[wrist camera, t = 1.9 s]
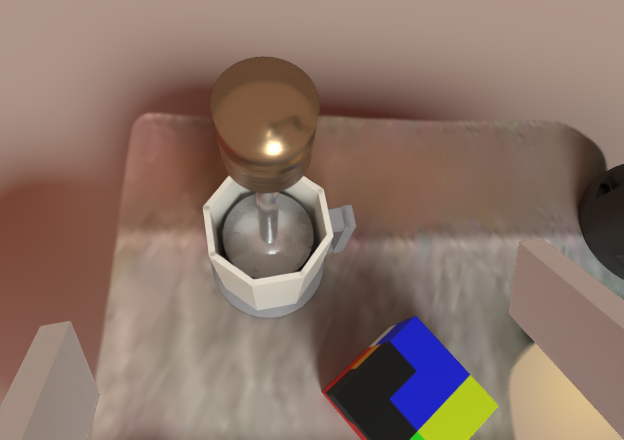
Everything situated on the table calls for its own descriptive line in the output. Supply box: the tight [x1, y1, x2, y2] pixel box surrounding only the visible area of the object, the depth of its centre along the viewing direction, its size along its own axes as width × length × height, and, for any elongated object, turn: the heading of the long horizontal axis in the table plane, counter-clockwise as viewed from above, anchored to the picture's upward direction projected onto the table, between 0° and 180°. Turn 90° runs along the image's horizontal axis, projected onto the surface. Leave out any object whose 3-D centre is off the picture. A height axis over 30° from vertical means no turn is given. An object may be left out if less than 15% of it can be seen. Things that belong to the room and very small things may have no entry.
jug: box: [203, 176, 356, 318], centre depth 45 cm, size 14×12×15 cm
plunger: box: [210, 57, 320, 279], centre depth 32 cm, size 8×8×22 cm
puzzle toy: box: [322, 316, 499, 440], centre depth 44 cm, size 10×10×10 cm
